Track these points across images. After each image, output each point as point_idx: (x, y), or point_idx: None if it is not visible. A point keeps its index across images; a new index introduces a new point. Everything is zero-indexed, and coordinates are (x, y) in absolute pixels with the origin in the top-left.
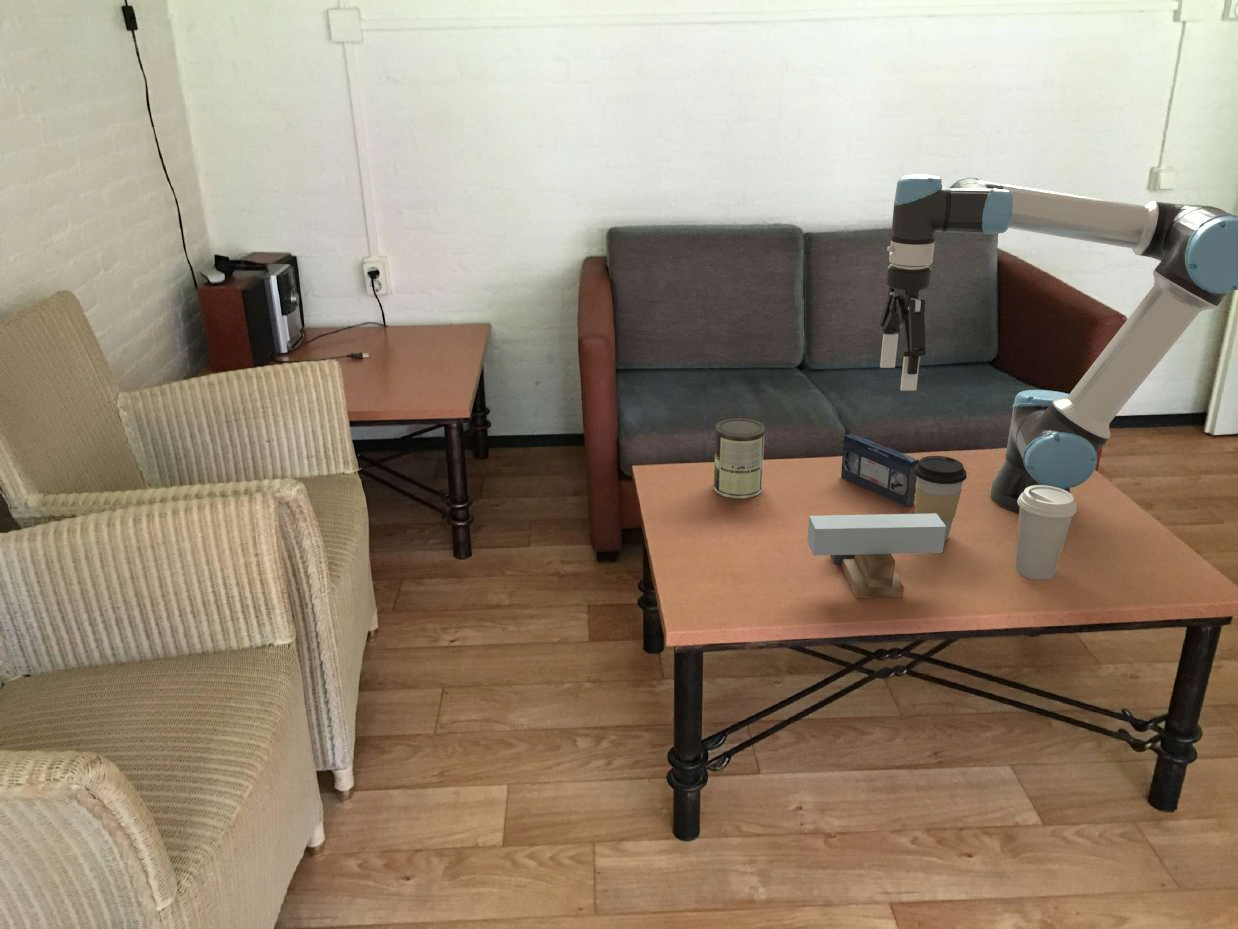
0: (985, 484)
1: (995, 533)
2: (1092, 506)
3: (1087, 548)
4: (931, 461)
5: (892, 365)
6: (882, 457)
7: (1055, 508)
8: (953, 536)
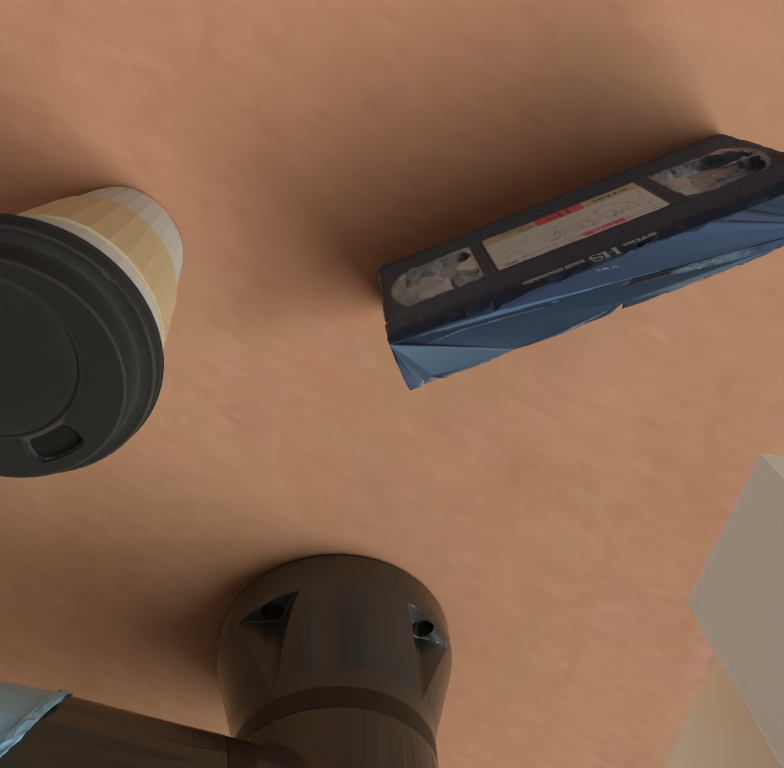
0: (473, 586)
1: (123, 455)
2: None
3: (6, 632)
4: (50, 344)
5: (711, 596)
6: (553, 264)
7: None
8: None
